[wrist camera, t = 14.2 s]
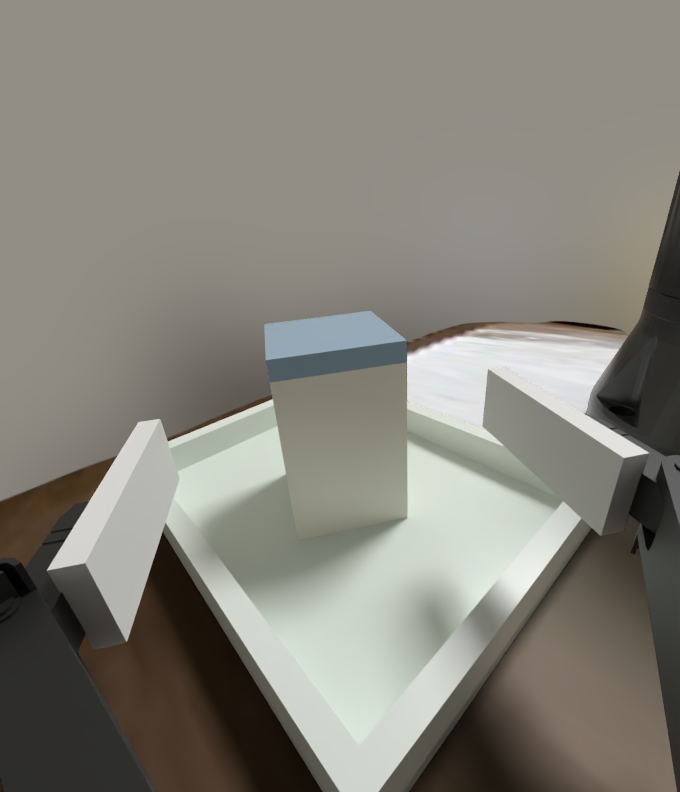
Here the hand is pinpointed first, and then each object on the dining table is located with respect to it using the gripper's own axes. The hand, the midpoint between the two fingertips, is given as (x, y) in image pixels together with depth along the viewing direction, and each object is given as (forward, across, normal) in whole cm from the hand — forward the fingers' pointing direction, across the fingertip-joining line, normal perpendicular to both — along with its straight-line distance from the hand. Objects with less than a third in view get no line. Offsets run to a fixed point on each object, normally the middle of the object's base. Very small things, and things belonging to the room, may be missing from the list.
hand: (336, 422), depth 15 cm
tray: (+5, 0, -8) cm, 9 cm away
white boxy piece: (+5, +1, -8) cm, 9 cm away
